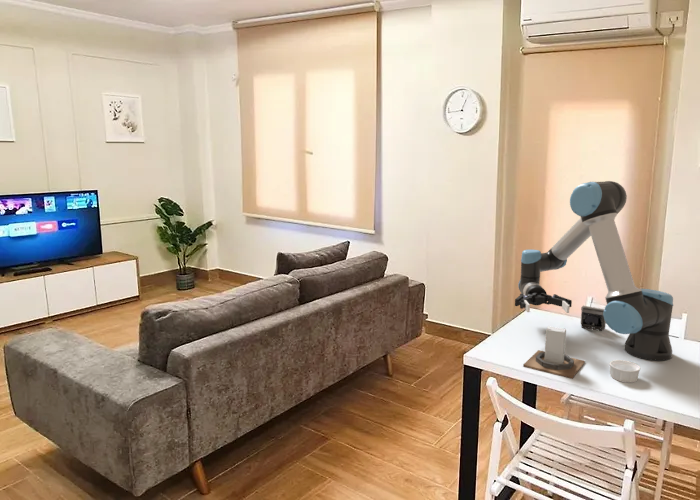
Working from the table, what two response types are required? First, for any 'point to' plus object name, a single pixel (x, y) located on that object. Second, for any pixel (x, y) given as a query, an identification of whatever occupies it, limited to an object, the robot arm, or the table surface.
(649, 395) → the table surface
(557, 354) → the skincare box
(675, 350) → the table surface
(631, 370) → the ramekin
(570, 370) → the wooden board with ring
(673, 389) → the table surface
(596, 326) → the electrical switch
